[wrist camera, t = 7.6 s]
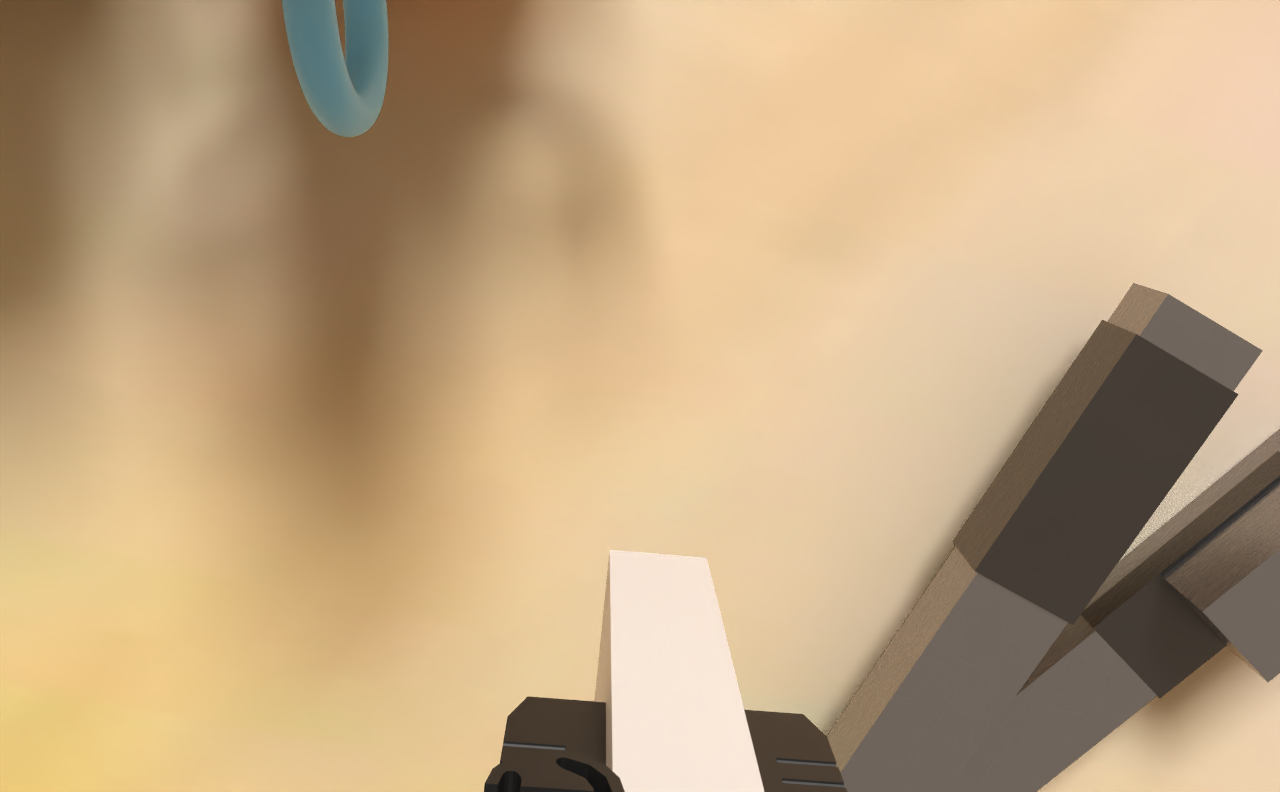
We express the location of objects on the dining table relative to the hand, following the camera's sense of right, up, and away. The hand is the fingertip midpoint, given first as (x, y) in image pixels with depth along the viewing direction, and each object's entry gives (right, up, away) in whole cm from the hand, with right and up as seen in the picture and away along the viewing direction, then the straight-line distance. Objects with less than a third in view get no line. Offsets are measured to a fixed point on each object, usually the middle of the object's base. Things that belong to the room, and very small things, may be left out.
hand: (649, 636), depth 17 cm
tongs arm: (+7, -3, +9) cm, 12 cm away
